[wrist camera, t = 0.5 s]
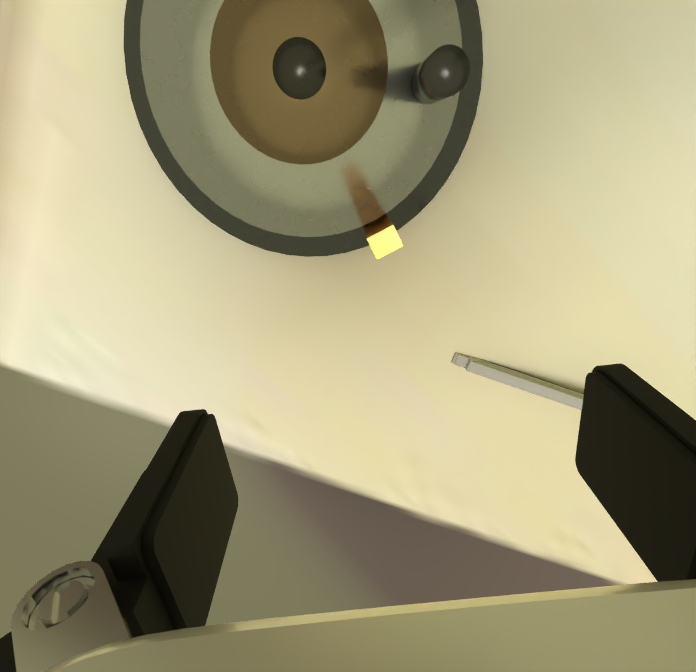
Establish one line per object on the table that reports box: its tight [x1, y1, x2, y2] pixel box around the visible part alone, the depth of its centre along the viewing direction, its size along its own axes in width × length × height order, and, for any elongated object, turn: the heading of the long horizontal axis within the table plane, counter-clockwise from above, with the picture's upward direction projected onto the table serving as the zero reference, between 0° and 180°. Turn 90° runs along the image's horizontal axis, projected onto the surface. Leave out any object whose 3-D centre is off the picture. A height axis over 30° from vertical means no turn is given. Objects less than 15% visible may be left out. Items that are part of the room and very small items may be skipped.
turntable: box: [140, 0, 470, 237], centre depth 26 cm, size 20×20×7 cm
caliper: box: [452, 353, 584, 410], centre depth 38 cm, size 20×1×6 cm, turn 73°
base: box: [124, 0, 483, 259], centre depth 28 cm, size 24×24×6 cm
